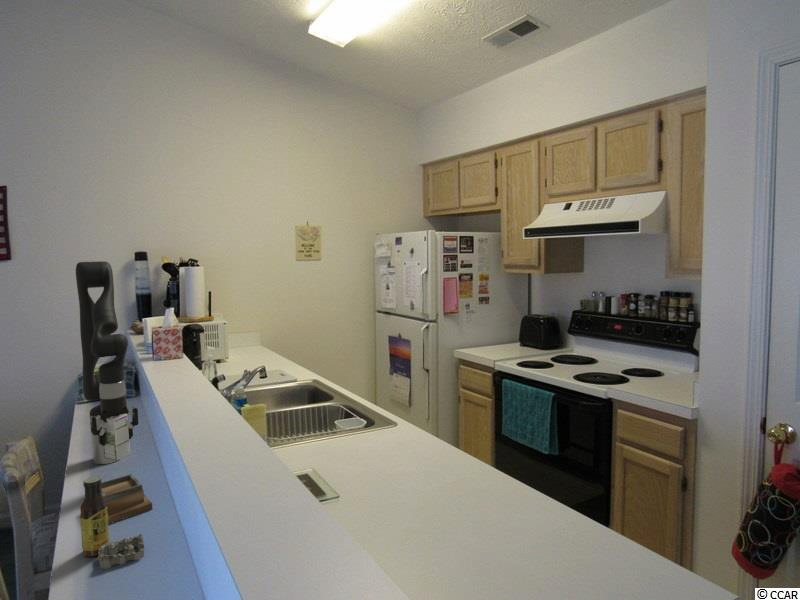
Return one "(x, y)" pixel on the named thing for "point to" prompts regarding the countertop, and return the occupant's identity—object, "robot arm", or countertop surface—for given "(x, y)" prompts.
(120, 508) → the stand
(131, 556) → the egg carton
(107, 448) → the syrup box
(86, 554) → the sauce bottle
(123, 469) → the countertop surface
